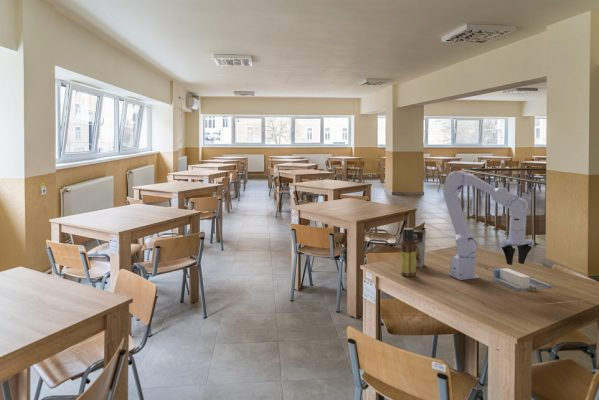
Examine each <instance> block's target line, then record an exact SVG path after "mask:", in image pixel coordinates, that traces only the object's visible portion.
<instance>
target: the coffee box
mask: <svg viewBox="0 0 599 400" xmlns="http://www.w3.org/2000/svg"><path fill="white" fill-rule="evenodd" d="M426 234H427V231H426V230H425V229H423V230H422V229H414V228H413V240H414V242H415V243H416V268H422V267H423V266H425V254H426V253H425V249H426ZM403 239H404V232H403V231H402V240H403Z"/></svg>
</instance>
